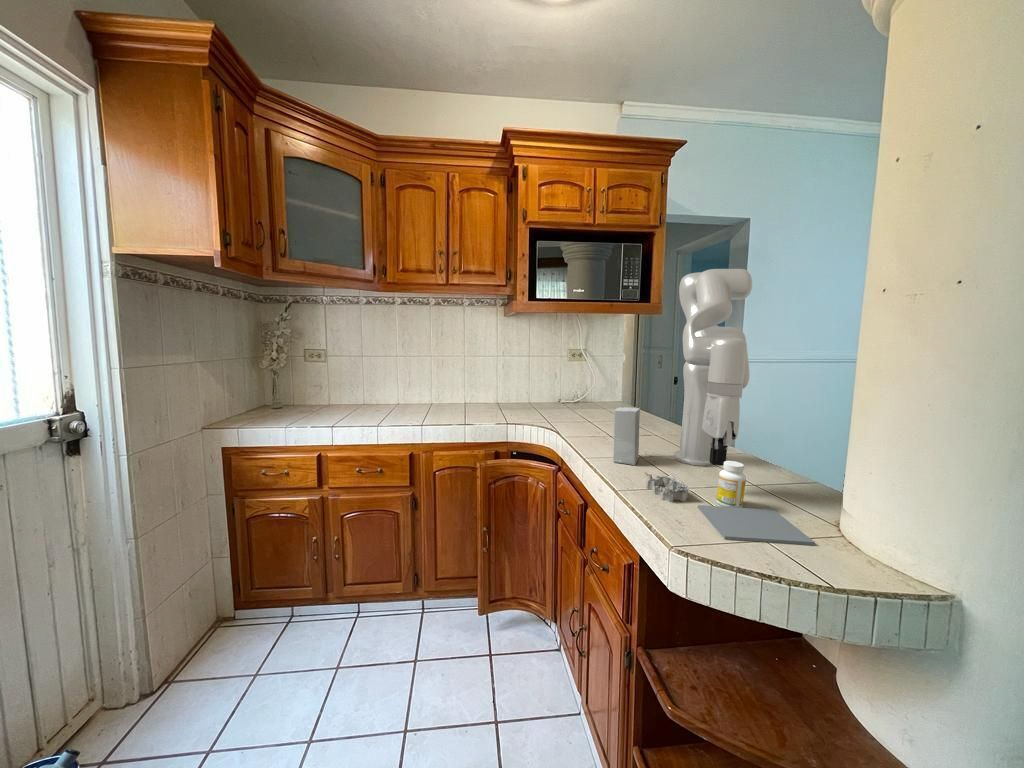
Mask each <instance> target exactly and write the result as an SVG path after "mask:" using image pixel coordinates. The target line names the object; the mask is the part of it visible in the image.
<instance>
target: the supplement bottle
mask: <svg viewBox="0 0 1024 768" xmlns="http://www.w3.org/2000/svg"><path fill="white" fill-rule="evenodd" d="M722 467H723V469H722V470H720V471H719V473H718V482H717V492H716V502H717V504H718V505H719V506H723V507H739V508H743V505H744V499H745V488H746V481H747V477H746V475H745V474H744V470H745V469H744V468H745V465H744V464H743V463H742V462H739V461H734V460H726V461H725V462H724V465H723V466H722Z"/></svg>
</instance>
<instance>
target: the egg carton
mask: <svg viewBox="0 0 1024 768" xmlns="http://www.w3.org/2000/svg"><path fill="white" fill-rule="evenodd" d="M644 475H646V476H647V477H648V478H647V479H646V481H645V489H646V490H651V493H652V494H654V495H655V496H659V500H661V501H666V502H667V503H673V502H674V500H677V501H681V502H686V501H687V499H688V497H689V496H688V492H689V490H690V489H691V487H690V486H689V485H686V484H684V482H683V481H682V482H681V481H680V480H678V479H677V478H676V477H675V476H673V475H662V476H660V475H656V477H655V478H653V476H652V474H649V473H648V472H646V471H645V472H644ZM663 487H664V488H663Z"/></svg>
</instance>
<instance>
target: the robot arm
mask: <svg viewBox="0 0 1024 768" xmlns="http://www.w3.org/2000/svg"><path fill="white" fill-rule="evenodd" d="M752 289H753V279H752V275H751V273H750V272H749V271H748V270H746V269H744V268H711V269H706V270H704V271H702V272H701V271H700V272H692V273H688V274H686V275H683V277H681V280H680V283H679V287H678V290H679V292H678V297H679V302H680V306H681V309H682V311H683V313H684V316H685V319H686V323H685V325H684V326H683V327H684V328H683V332H682V351H683V358H684V360H685V362H684V365H683V368H682V373H683V375H682V376H683V390H684V391H683V407H682V420H681V430H680V431H681V432H680V443H679V444H680V445H679V450H678V451H675V452H673V458H674V459H675V460H677V461H679V462H680V463H681V462H682V463H684V464H687V465H692V466H699V467H713V466H722V467H723V465H724V462H725V461H727V455H728V453H727V452H728V450H729V447H731V446H733V441H734V440H736V439H737V438H738V434H739V429H740V417H741V416H740V415H741V414H740V413H741V412H740V411H741V409H740V408H741V405H740V399H742V398H743V397H742V396H743V390H744V389H745V388H747V386H748V385H749V381H750V364H749V356H748V355H749V354H748V345H747V338H746V334H745V333H744V332H743V330H742V329H741V328H739V327H734V326H718V325H719V324H722V323H725V321H727V320H728V319H729V318H730V316H731V315H732V313H733V305H732V304H733V303H732V301H737V300H739V301H740V300H744V299H746V298H748V296H750V294H751V292H752Z"/></svg>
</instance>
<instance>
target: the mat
mask: <svg viewBox="0 0 1024 768" xmlns="http://www.w3.org/2000/svg"><path fill="white" fill-rule="evenodd" d="M697 508H698V509H699V511H700V512H701V513H702V514H703V515H704V516H705V518H706V519H707V520H708V521H709V522H710V524H711V525H712V526H713V527H714V528H715V530H716V531H717V532H718V533H719V535H721V536H722V538H723V539H724V540H732V541H746V542H757V543H758V542H761V543H774V544H775V543H778V544H789V545H790V544H792V545H802V546H803V545H804V546H805V545H806V546H816V542H815V541H814V540H813V539H812V538H811V537H809V536H808V535H807V534H805V533H804V532H803V531H802V530H800V529H799V528H798V527H796V525H794V524H793V523H791V521H789V520H788V519H787V518H785V517H784V516H783V515H781V514H780V512H779V513H778V512H777V511H776V510H775V509H768V508H753V507H751V508H750V507H741V508H739V507H724V506H721V505H707V504H705V505H704V504H698V505H697Z"/></svg>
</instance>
